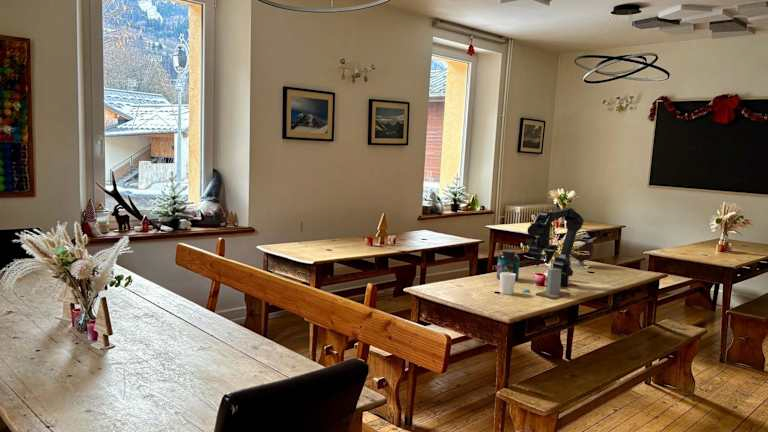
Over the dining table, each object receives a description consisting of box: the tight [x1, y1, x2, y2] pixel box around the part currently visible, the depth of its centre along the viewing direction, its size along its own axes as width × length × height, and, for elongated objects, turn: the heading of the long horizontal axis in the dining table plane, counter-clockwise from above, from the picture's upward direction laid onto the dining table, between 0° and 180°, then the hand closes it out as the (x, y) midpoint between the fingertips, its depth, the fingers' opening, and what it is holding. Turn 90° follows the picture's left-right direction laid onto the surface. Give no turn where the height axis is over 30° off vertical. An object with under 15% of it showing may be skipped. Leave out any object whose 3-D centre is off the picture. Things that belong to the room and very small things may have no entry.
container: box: [496, 249, 520, 282], centre depth 318 cm, size 12×12×17 cm
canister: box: [545, 267, 561, 295], centre depth 284 cm, size 6×6×12 cm
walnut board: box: [535, 290, 571, 300], centre depth 285 cm, size 16×10×1 cm, turn 132°
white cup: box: [499, 272, 516, 296], centre depth 285 cm, size 8×8×10 cm
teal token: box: [522, 288, 530, 294], centre depth 289 cm, size 3×3×1 cm
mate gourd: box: [570, 237, 597, 268], centre depth 364 cm, size 16×14×20 cm
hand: (542, 264), depth 295 cm, fingers open, 9 cm apart
